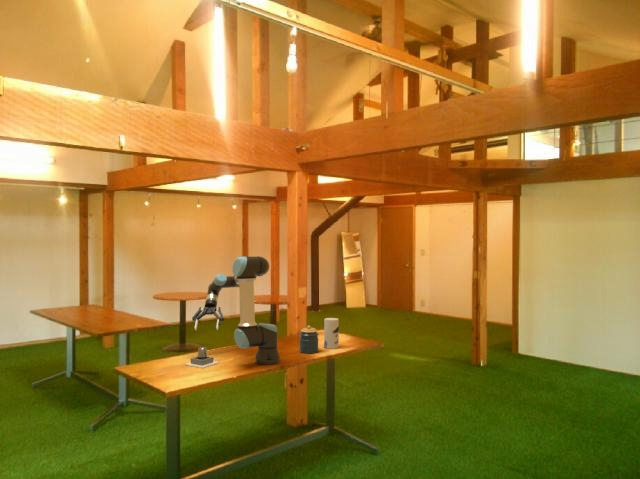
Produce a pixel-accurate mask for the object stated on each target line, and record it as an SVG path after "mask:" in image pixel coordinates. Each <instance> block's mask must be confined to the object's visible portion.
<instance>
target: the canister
mask: <svg viewBox="0 0 640 479" xmlns="http://www.w3.org/2000/svg"><path fill="white" fill-rule="evenodd" d="M298 335H299V338H298V339H299V346H298V350H299V352H300V353H301V354H307V355H308V354H316V353H318V352H319V333H318V330H317V329H316V328H315V327H312V326H311V325H310V324H309V325H307V326H306V327H303V328H302V329H300V333H299V334H298Z"/></svg>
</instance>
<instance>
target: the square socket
mask: <svg viewBox="0 0 640 479" xmlns="http://www.w3.org/2000/svg"><path fill="white" fill-rule="evenodd" d="M219 363H220V362H219V361H216V360H214V356H208V355H207V359H204V360H200V359H198V356H193V357H191V358H190V362H186V363H184V366H186V365H187V367H191V368H199V369H205V368H208V367H211V366H215V365H217V364H219Z"/></svg>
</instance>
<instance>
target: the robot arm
mask: <svg viewBox="0 0 640 479" xmlns="http://www.w3.org/2000/svg"><path fill="white" fill-rule="evenodd" d="M269 269H270V263H269V261H268V260H267V259H266V258H265V257H263V256H258V255H257V256H239V257H236V258H235V260H234V261H233V263H232V274H233V276H232V275H228V276H226V275H225V274H223V273H217V274H216V276H215V277H214V278H213V280H212V281H211V282H210V283H209V284H208V287H207V288H208V289H207V293H206V298H205V304H204V308H203V307H201V306H200V307H198V310H197V311H196V313H194V315H193V316H192V318H191V319H192V321H193V325H194V330H195V331H197V329H198V325H199V321H200V320H201V319H202V318H203V317H204V316H206V315H208V316H209V315H210V316H212V315H213V316H214V317H215V318H216V319H217V321H216V326H215V328H216V329H215V330H216V331H218V330H219V326H221V324H222V321H225V317H224V314H223V312H222V310H221V307H220V306H218V299H219V295H220V292H221V290H222V289H224V288H225V289H228V288H239V289H238V290H239V323H238V324H237V328H235V330H234V332H233V338H234V342H235V343H236V344H235V345H237V347H239V348H240V349H249V348H255V347H257V351H256V355H255V358H254V363H255V364H257V365H264V366H265V365H276V364H278V363H280V362H281V360H280V359H281V357H280V354H279V351H278V326H277V325H276V324H272V323H266V322H265V323H263V322H259V323H257V322H256V318H255V315H256V314H255V283H254V282H255V281H256V279H257V277H263V276H264V275H267V273H268V272H269ZM217 306H218V307H217ZM216 311H217V312H218V313H217V312H216Z"/></svg>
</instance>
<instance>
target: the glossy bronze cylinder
mask: <svg viewBox="0 0 640 479" xmlns="http://www.w3.org/2000/svg"><path fill="white" fill-rule="evenodd" d="M207 350H208V347H207V346H200V347H198V348H197V357H198V359H200V360H204V359H207V356H208V354H207V352H208V351H207Z"/></svg>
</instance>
